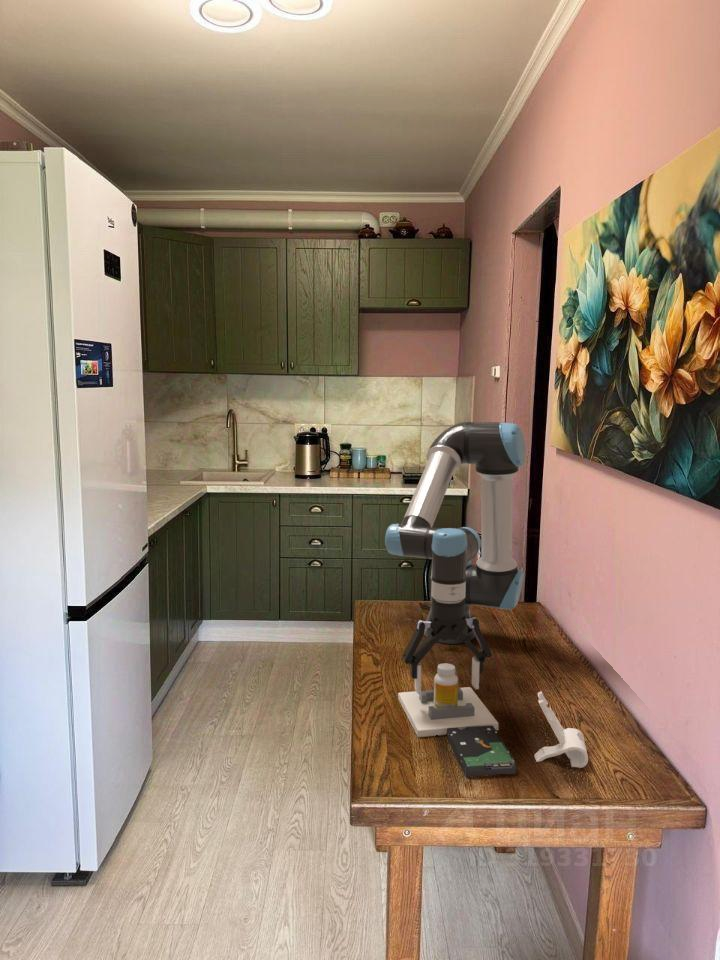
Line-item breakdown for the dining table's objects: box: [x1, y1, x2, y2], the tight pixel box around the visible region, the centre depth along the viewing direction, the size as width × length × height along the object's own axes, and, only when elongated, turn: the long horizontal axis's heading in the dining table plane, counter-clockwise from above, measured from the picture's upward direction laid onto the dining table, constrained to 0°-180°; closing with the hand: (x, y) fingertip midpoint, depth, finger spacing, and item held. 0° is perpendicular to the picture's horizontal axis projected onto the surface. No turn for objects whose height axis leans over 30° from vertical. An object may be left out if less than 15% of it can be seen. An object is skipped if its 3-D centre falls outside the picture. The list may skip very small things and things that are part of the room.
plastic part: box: [533, 690, 589, 769], centre depth 132 cm, size 8×10×12 cm
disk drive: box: [446, 726, 518, 778], centre depth 133 cm, size 10×3×15 cm
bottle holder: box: [397, 686, 499, 738], centre depth 150 cm, size 18×18×4 cm
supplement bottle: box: [433, 662, 459, 708], centre depth 149 cm, size 5×5×10 cm
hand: (446, 689), depth 149 cm, fingers open, 13 cm apart
